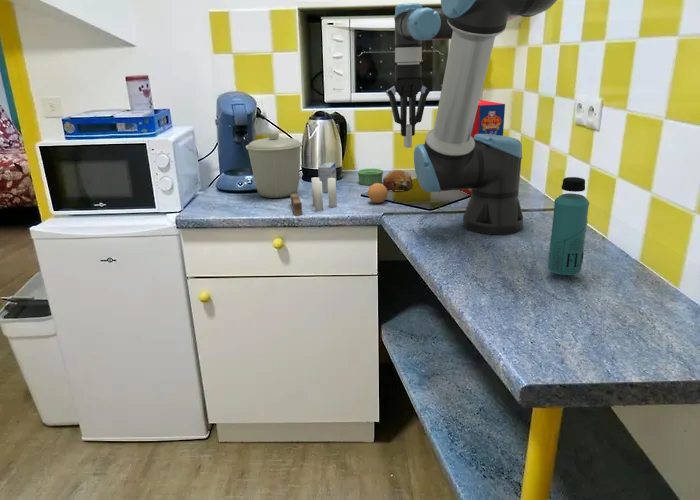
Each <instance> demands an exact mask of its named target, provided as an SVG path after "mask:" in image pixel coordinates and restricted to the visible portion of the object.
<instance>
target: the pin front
mask: <svg viewBox="0 0 700 500" xmlns="http://www.w3.org/2000/svg"><path fill="white" fill-rule="evenodd" d="M336 183H337V177H336V178H328V194H327V196H328V207H329V208H332V209H333V208H337V206H338V204H337V202H338V200H337V187H336Z"/></svg>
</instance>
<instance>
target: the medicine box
mask: <svg viewBox="0 0 700 500" xmlns="http://www.w3.org/2000/svg"><path fill="white" fill-rule="evenodd" d="M336 166H337V165H336V162H330V161H329V162H322V164H321V165H320V166H319V167H318V168H317V173H318V177H319V179H320V181H322V193H328V178H336V179H337V167H336ZM337 187H338V186H337V182H336V188H337Z"/></svg>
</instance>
